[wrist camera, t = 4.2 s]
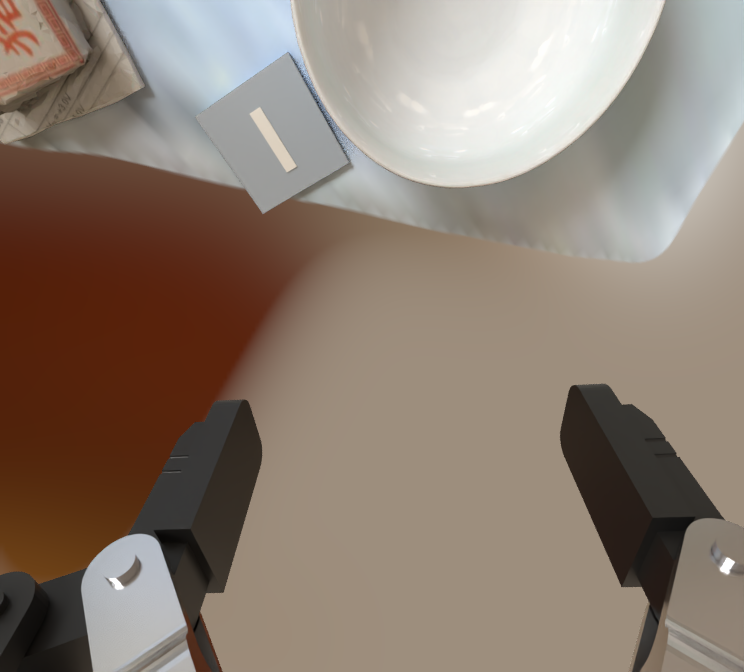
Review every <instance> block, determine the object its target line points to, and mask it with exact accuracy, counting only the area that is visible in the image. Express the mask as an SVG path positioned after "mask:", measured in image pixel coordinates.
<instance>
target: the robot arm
mask: <svg viewBox="0 0 744 672" xmlns="http://www.w3.org/2000/svg"><path fill="white" fill-rule="evenodd" d="M560 441H561V447H562V451H563V454H564V457H565V459H566V461H567V464H568V466H569V468H570V471H571V473H572V475H573V477H574V480H575V482H576V484H577V487H578V489H579V491H580V493H581V496H582V498H583V500H584V502H585V505H586V507H587V509H588V511H589V514H590V516H591V518H592V521H593V523H594V525H595V527H596V530H597V532H598V534H599V536H600V539H601V541H602V543H603V546H604V548H605V550H606V552H607V555H608V557H609V559H610V562H611V564H612V566H613V568H614V571H615V573H616V575H617V577H618V580H619V582H620V584H621V587H642V588H643V590H644V592H645V594H646V596H647V598H648V603H647V606H646V608H645V612H644V616H643V619H642V623H641V627H640V630H639V634H638V638H637V641H636V645H635V649H634V653H633V656H632V660H631V664H630V667H629V672H744V528H743V527H741V526H739V525H737V524H734V523H732V522H729V521H725V519H724V518H723V517H722V516H721V515H720V513H719V512H718V510H717V509H716V507H715V506H714V505H713V503H712V502H711V501H710V499H709V498H708V496H707V495H706V494H705V492H704V491H703V489H702V488H701V487H700V485H699V484H698V482H697V481H696V480H695V478H694V477H693V475H692V474H691V473H690V471H689V470H688V469H687V467H686V466H685V465H684V463H683V461H682V460H681V459H680V457H677V456H676V452H675V450H674V449H673V448H672V446H671V445H670V443H669V442H666V440H665V436H664V435H663V434H662V432H661V431H660V430H659V428H658V427H657V425H656V424H655V423H654V421H653V420H652V419H651V418H650V417H648V416H647V415H646V414H644V413H643V412H642V411H640V410H639V409H637V408H636V407H635V406H633V405H632V404H628V405H622V404H621V403H620V402H619V400H618V399H617V397H616V395H615V394H614V392H613V391H612V389H611V388H610V387H609V386H608V385H606V384H589V385H573V386H571V388H570V390H569V393H568V398H567V403H566V407H565V412H564V416H563V421H562V426H561V431H560ZM261 461H262V444H261V440H260V437H259V433H258V430H257V427H256V424H255V420H254V417H253V414H252V411H251V408H250V405H249V403H248V401H247V400H225V401H216V402H215V403H214V404H213V405H212V407H211V409H210V411H209V414H208V416H207V418H206V420H205V422H195V423H194V424H193V425H192V426H191V427H190V428H189V429H188V430H187V431H186V432H185V433H184V434H183V435H182V436H181V437H180V438H179V439H178V441H177V443H176V445H175V447H174V449H173V451H172V453H171V454H170V459H168V460H167V462H166V464H165V466H164V468H163V470H162V474H160V476H159V477H158V479H157V481H156V483H155V485H154V487H153V489H152V491H151V493H150V495H149V497H148V499H147V501H146V502H145V504H144V506H143V508H142V510H141V512H140V514H139V516H138V518H137V520H136V522H135V524H134V526H133V527H132V529H131V531H130V533H129V534H128V536H126V537H123V538H121V539H119V540H117V541H115V542H113V543H112V544H110V545H109V546H108V547H106V548H105V549H104V550H103V551H101V552H100V553H99V554H98V555H97V556H96V558H94V560H93V561H92V562H91V564H90V565H89V566H88V568H86V569H83V570H80V571H77V572H74V573H71V574H68V575H65V576H62V577H59V578H56V579H53V580H50V581H47V582H44V583H41V584H38V583H37V582H36V581H35V580H34V579H33V578H32V577H31V576H30V575H29V574H27V573H24V572H10V573H6V574H3V575H0V672H223V671H222V668H221V666H220V663H219V660H218V657H217V655H216V652H215V649H214V647H213V644H212V641H211V638H210V636H209V633H208V630H207V628H206V625H205V622H204V619H203V617H202V614H201V612H200V610H201V606H202V603H203V600H204V597H205V594H206V593H223V592H224V589H225V586H226V582H227V579H228V575H229V572H230V568H231V565H232V562H233V558H234V555H235V551H236V548H237V544H238V541H239V538H240V534H241V531H242V528H243V524H244V521H245V517H246V514H247V510H248V507H249V504H250V500H251V497H252V493H253V490H254V487H255V483H256V480H257V476H258V473H259V469H260V466H261Z"/></svg>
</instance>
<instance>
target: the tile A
mask: <svg viewBox="0 0 744 672" xmlns="http://www.w3.org/2000/svg"><path fill="white" fill-rule="evenodd" d="M195 118H196V119H197V121H198V122H199V124H200V125H201V127H202V128H203V129H204V131H205V132H206V134H207V135H208V136H209V138H210V139H211V141H212V142H213V144H214V145H215V146H216V148H217V149H218V151H219V152H220V154H221V155H222V156H223V158H224V159H225V161H226V162H227V163H228V165H229V166H230V168H231V169H232V171H233V172H234V173H235V175H236V176H237V178H238V179H239V181H240V182H241V183H242V185H243V186H244V188H245V189H246V190H247V192H248V193H249V195H250V196H251V197H252V199H253V200H254V202H255V203H256V204H257V206H258V207H259V209H260V210H261V212H262V213H265V212H267V211H268V210H270V209H272V208H273V207H275V206H277V205H279V204H280V203H282V202H284V201H285V200H287V199H289V198H291V197H292V196H294V195H296V194H297V193H299V192H301V191H302V190H304V189H306V188H308V187H309V186H311V185H313V184H314V183H316V182H318V181H319V180H321V179H323V178H324V177H326V176H328V175H330V174H331V173H333V172H335V171H336V170H338V169H340V168H341V167H343V166H345V165H346V164H348V163H349V160H348V159H347V157H346V155H345V153H344V151H343V149H342V148H341V146H340V144H339V142H338V140H337V139H336V137H335V135H334V133H333V131H332V130H331V128H330V126H329V124H328V122H327V121H326V119H325V117H324V115H323V113H322V112H321V110H320V108H319V106H318V104H317V103H316V101H315V99H314V97H313V95H312V94H311V92H310V90H309V88H308V86H307V84H306V83H305V81H304V79H303V77H302V75H301V74H300V72H299V70H298V68H297V66H296V65H295V63H294V61H293V59H292V57H291V56H290V54H289V52H287V53H286V54H284V55H283V56H282V57H280V58H279V59H277V60H276V61H274V62H273V63H272V64H270V65H269V66H267V67H266V68H264V69H263V70H262V71H260V72H259V73H257V74H256V75H254V76H253V77H252V78H250V79H249V80H247V81H246V82H244V83H243V84H241V85H240V86H239V87H237V88H236V89H234V90H233V91H231V92H230V93H229V94H227V95H226V96H224V97H223V98H221V99H220V100H219V101H217V102H216V103H214V104H213V105H211V106H210V107H209V108H207V109H206V110H204V111H203V112H201V113H200V114H198V115H197V116H196V117H195Z"/></svg>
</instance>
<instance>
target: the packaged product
mask: <svg viewBox="0 0 744 672" xmlns="http://www.w3.org/2000/svg"><path fill="white" fill-rule="evenodd" d="M143 87H145V85H144V83H143V81H142V79H141V77H140V75H139V73H138V71H137V69H136V67H135V65H134V63H133V61H132V59H131V57H130V55H129V53H128V51H127V49H126V47H125V45H124V43H123V42H122V40H121V38H120V36H119V34H118V32H117V31H116V29H115V27H114V25H113V23H112V21H111V20H110V18H109V16H108V14H107V12H106V10H105V9H104V7H103V5H102V4H101V2H100V0H0V140H1V141H2V142H3V143H4V144H8V143H11V142H14V141H17V140H21V139H24V138H27V137H31V136H33V135H35V134H37V133H39V132H41V131H43V130H45V129H47V128H49V127H51V126H53V125H55V124H58V123H61V122H64V121H67V120H71V119H74V118H77V117H80V116H83V115H85V114H88V113H90V112H93V111H96V110H98V109H101V108H103V107H106V106H108V105H111V104H114V103H116V102H118V101H120V100H122V99H123V98H125V97H127V96H129V95H131V94H132V93H134V92H136V91H138V90H139V89H141V88H143Z"/></svg>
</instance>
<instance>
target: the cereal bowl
mask: <svg viewBox="0 0 744 672" xmlns="http://www.w3.org/2000/svg"><path fill="white" fill-rule="evenodd" d="M290 2H291V10H292V18H293V23H294V27H295V32H296V37H297V42H298V45H299V48H300V51H301V54H302V57H303V60H304V64H305V67H306V69H307V72H308V74H309V76H310V79H311V81H312V83H313V86H314V88H315V90H316V92H317V94H318V96H319V97H320V99H321V101H322V103H323V105H324V106H325V108H326V110H327V112H328V113H329V115H330V116H331V117H332V119H333V120H334V122H335V123H336V124H337V126H338V127H339V128H340V130H341V131H342V132H343V133H344V134H345V135H346V136H347V138H348V139H349V140H350V141H351V142H352V143H353V144H354V145H355V146H356V147H357V148H358V149H360V150H361V151H362V152H363V153H364V154H365V155H366V156H368V157H369V158H370V159H372V160H373V161H374V162H376V163H377V164H379V165H380V166H382V167H383V168H385V169H387V170H388V171H390V172H392V173H394V174H396V175H398V176H400V177H403V178H406V179H408V180H411V181H414V182H418V183H421V184H425V185H430V186H436V187H444V188H468V187H477V186H485V185H490V184H494V183H499V182H503V181H506V180H509V179H512V178H515V177H517V176H520V175H522V174H524V173H526V172H528V171H531V170H533V169H534V168H536V167H538V166H540V165H542V164H543V163H545V162H547V161H548V160H550V159H551V158H553V157H555V156H556V155H558V154H559V153H560V152H562V151H563V150H564V149H566V148H567V147H568V146H570V145H571V144H572V143H573V142H575V141H576V140H577V139H578V138H579V137H580V136H582V135H583V134H584V133H585V132H586V131H587V130H588V129H589V128H590V127H591V126H592V125H593V124H594V123H595V122H596V121H597V120H598V119H599V118H600V117H601V116H602V115H603V113H604V112H605V111H606V110H607V109H608V108H609V106H610V105H611V104H612V102H613V101H614V100H615V99H616V97H617V96H618V95H619V93H620V92H621V90H622V89H623V88H624V86H625V85H626V83H627V82H628V80H629V78H630V77H631V75H632V74H633V72H634V70H635V69H636V67H637V65H638V64H639V62H640V60H641V58H642V56H643V54H644V52H645V50H646V48H647V46H648V44H649V42H650V40H651V38H652V36H653V33H654V31H655V28H656V26H657V24H658V21H659V19H660V16H661V13H662V10H663V7H664V5H665V2H666V0H290Z"/></svg>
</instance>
